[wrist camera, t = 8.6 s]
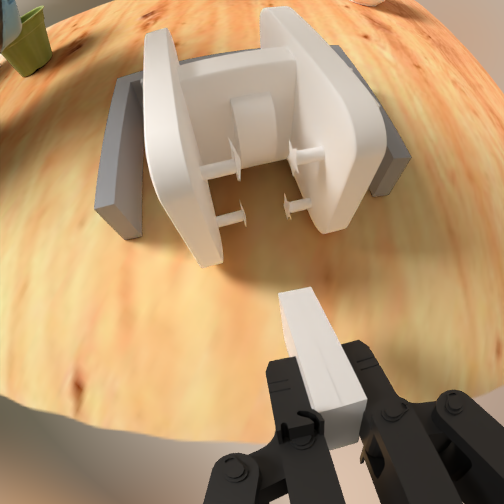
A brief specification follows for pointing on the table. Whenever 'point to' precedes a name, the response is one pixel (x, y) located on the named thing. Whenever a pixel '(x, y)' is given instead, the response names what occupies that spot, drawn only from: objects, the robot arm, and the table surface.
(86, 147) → the table surface
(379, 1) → the lidded jar
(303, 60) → the cable organizer
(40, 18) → the plant pot
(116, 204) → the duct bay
